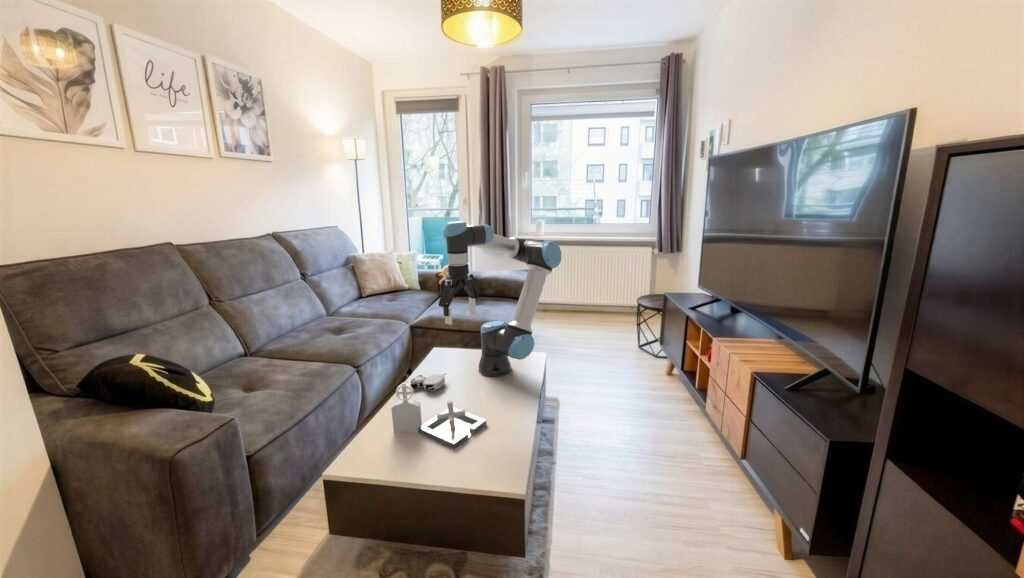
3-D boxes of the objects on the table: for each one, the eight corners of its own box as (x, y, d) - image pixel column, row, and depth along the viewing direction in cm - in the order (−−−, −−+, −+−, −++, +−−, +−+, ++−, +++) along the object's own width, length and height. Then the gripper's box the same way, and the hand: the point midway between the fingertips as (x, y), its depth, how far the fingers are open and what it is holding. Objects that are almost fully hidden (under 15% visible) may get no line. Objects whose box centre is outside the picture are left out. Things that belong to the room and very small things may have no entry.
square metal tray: (451, 411, 156) (451, 406, 155) (486, 424, 146) (486, 419, 146) (418, 432, 142) (417, 427, 142) (454, 449, 133) (453, 444, 132)
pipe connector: (438, 422, 148) (435, 397, 146) (465, 418, 150) (463, 393, 148) (438, 437, 139) (435, 411, 137) (467, 433, 140) (464, 406, 138)
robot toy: (405, 394, 171) (439, 394, 168) (404, 384, 170) (437, 384, 167) (417, 381, 183) (449, 381, 180) (416, 372, 182) (447, 372, 179)
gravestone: (395, 427, 146) (391, 381, 141) (421, 426, 146) (418, 380, 142) (393, 432, 143) (389, 385, 139) (420, 431, 143) (416, 384, 139)
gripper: (472, 258, 161) (474, 309, 167) (426, 268, 142) (430, 326, 147) (487, 259, 157) (489, 312, 162) (441, 270, 137) (445, 330, 143)
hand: (461, 319), depth 155 cm, fingers open, 13 cm apart
